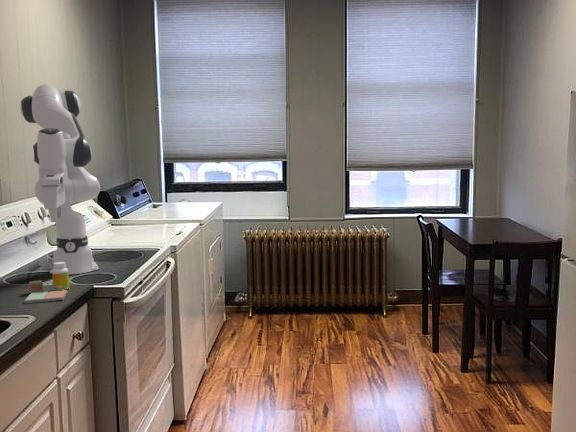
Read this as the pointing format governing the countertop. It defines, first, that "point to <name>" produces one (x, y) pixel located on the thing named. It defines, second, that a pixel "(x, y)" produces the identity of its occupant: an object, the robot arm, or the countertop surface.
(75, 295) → the countertop surface
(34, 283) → the walnut block
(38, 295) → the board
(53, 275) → the supplement bottle
